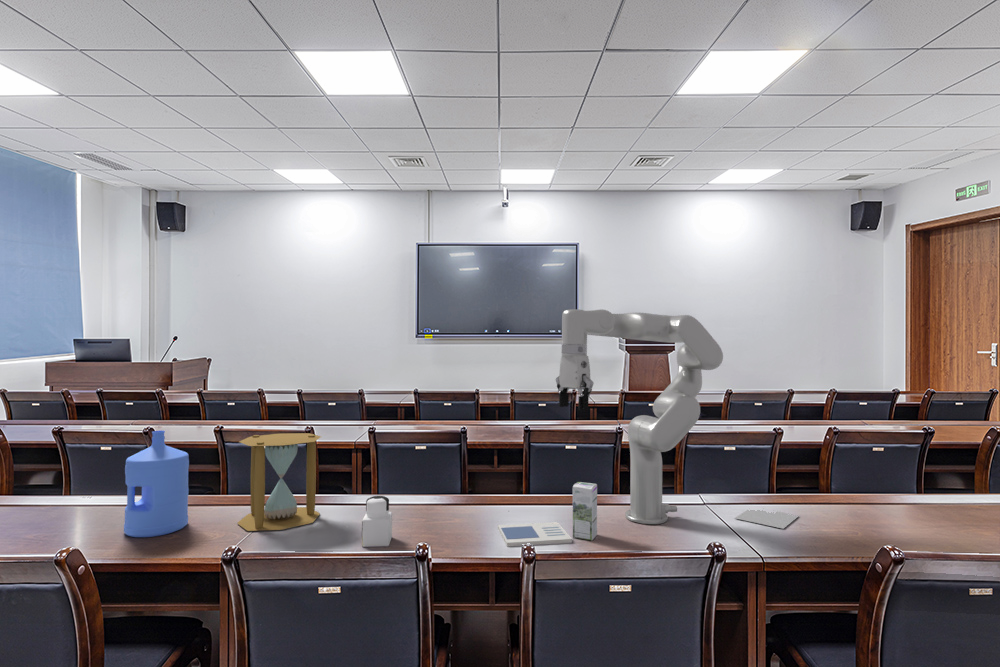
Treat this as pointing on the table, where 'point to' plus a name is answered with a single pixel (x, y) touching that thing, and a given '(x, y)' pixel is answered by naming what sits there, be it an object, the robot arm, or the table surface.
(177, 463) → the water jug
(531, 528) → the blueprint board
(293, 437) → the hourglass
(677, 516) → the table surface
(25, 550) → the table surface
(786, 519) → the paper stack
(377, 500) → the medicine bottle
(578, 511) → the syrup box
